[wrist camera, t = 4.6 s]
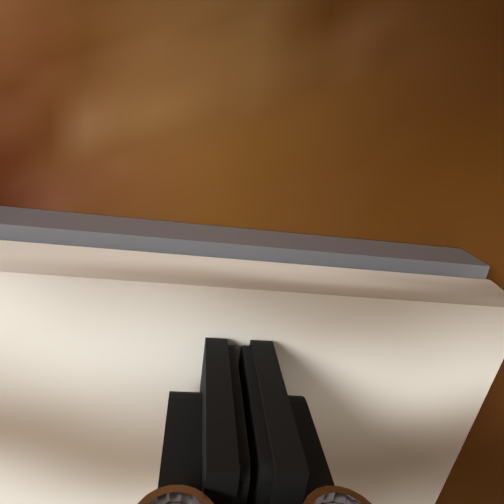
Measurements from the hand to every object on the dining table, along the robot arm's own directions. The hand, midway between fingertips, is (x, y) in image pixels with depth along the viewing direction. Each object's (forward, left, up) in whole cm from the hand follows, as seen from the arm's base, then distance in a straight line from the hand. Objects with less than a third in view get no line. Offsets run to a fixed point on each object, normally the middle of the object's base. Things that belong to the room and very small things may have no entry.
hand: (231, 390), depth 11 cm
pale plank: (+2, -1, -2) cm, 3 cm away
